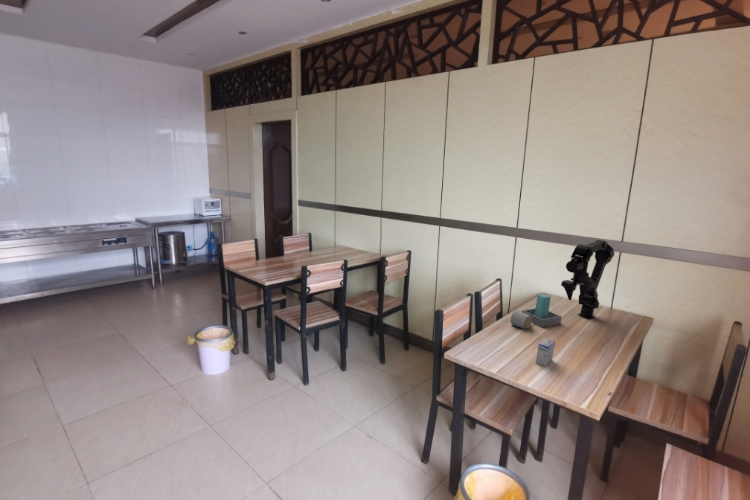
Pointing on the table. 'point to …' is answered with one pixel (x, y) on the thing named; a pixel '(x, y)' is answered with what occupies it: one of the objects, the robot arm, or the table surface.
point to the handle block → (542, 306)
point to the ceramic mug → (521, 319)
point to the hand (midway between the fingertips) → (575, 298)
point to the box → (550, 321)
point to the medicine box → (545, 352)
